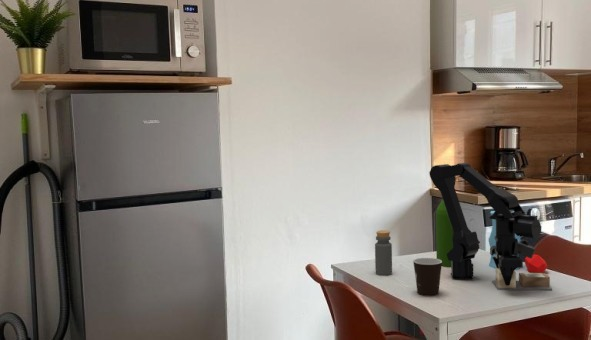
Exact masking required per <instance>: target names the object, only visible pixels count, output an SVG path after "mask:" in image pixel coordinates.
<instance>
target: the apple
mask: <svg viewBox="0 0 591 340" xmlns="http://www.w3.org/2000/svg"><path fill="white" fill-rule="evenodd" d="M524 264H525V267H526V269H527V271H528V273H545V272H546V270H547V268H548V264H547V262H546V260H545V259H543V258H542V257H541V256H540V255H539V254H535V253H534V254H533V257H532V259H531V258H528V257H527V256H525V258H524Z"/></svg>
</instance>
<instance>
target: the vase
mask: <svg viewBox="0 0 591 340" xmlns="http://www.w3.org/2000/svg"><path fill="white" fill-rule="evenodd" d="M494 212H495V211H494V210H492V211H490V216H491V215H492V214H493V213H494ZM513 212H514V211H513ZM511 213H512V212H511ZM491 221H492V222H491V223H492V227H491V232H490V234H489V237H488V243H489V245H488V246H489V249H490V248H491V247H492V246H496V240H495V236H496V219H491ZM515 238H516V239H517V240H518V242H520V241H521V240H522V239H521V236H517V235H516V234H515ZM519 255H520V254H519V253H518V255H513V256H518V257H519ZM492 257H495V254H494V255H491V254H490V260H489V263H488V266H489V267H490V268H494V269H496V268H497V267H496V265H495V263H494V260H493V258H492ZM519 269H521V268H516V269H515V270H519ZM515 270H514V271H515Z"/></svg>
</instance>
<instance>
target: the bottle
mask: <svg viewBox="0 0 591 340" xmlns="http://www.w3.org/2000/svg"><path fill="white" fill-rule="evenodd" d="M375 232H376V236H375V240H377V242H376V243H375V244H374V256H375V257H374V263H375V265H374V267H375V269H374V271H375V275H378V276H382V277H383V276H391V275H392V274H393V252H392V251H393V246H392V245H393V244H392V243H391V242H390V240H391V236H390V233H391V232H390V231H389V230H376V231H375Z"/></svg>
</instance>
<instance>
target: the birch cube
mask: <svg viewBox="0 0 591 340" xmlns="http://www.w3.org/2000/svg"><path fill="white" fill-rule="evenodd" d="M495 281H496V284H497V286H498V287H499V288H516V281H517V272H516V271H515V270H514V272H513V275H512V278H511V282H510V285H505V282H504V280H503V277H502V274H501V271H500V269H499V268H495Z"/></svg>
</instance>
